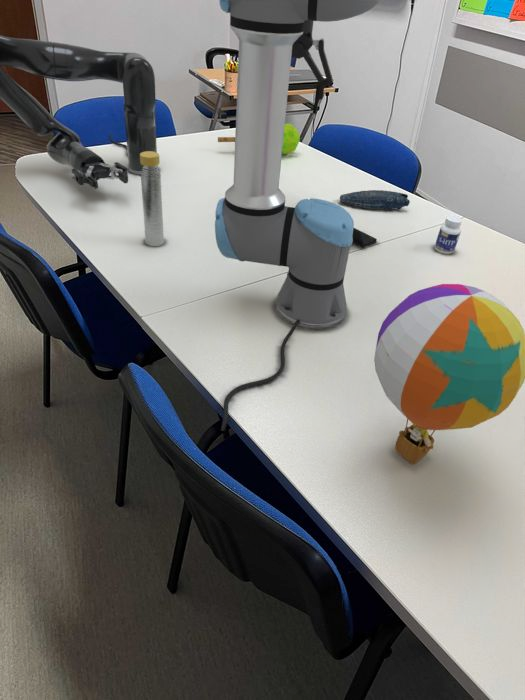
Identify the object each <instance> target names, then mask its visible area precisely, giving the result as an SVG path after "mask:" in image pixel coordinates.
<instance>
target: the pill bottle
mask: <svg viewBox="0 0 525 700" xmlns="http://www.w3.org/2000/svg"><path fill="white" fill-rule="evenodd" d="M462 222H463V219H461V218H460V217H458V216H455V215H448V216H446V218H445V220H444V223H443V224H442V225H440V228H439V231H438V234H437V237H436V240H435V243H434V250H435V251H437V252H439V253H441V254H447V255H449V254H453V253H454V252H455V250H456V247H457V244H458V242H459V239H460V236H461V233H462V229H461V225H462Z"/></svg>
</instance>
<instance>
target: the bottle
mask: <svg viewBox="0 0 525 700" xmlns="http://www.w3.org/2000/svg"><path fill="white" fill-rule="evenodd" d="M161 177H162V176H161V173H160V171H159V166H158V167H157V166H144V167H143V169H142V172H141V175H140V183H141V198H142V199H141V200H142V211H143V213H142V214H143V225H144V237H145V244H146V245H147V246H150V247H160V246H163V245H164V243H165V239H164V238H165V237H164V218H163V217H164V215H163V201H162V200H163V198H162V197H163V196H162V195H163V194H162V178H161Z"/></svg>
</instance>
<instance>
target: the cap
mask: <svg viewBox="0 0 525 700" xmlns="http://www.w3.org/2000/svg"><path fill="white" fill-rule="evenodd" d="M140 163H141V164H142V165H144V166H157V165H158V166H159V165H160V154H159V153H158V152H157V153H156V152H152V151H146V152H142V153H140Z"/></svg>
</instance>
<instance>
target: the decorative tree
mask: <svg viewBox="0 0 525 700" xmlns="http://www.w3.org/2000/svg"><path fill="white" fill-rule="evenodd" d="M300 137H301V136H300V132H299V131H298V129H297V128H296V127H295V126H294V125H292V123H285V127H284V138H283V148H282V155H289V154H291V153H293V152H295V151H296V150H297V148H298V145H299V143H300V140H301V138H300ZM217 143H235V136H218V137H217Z"/></svg>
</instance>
